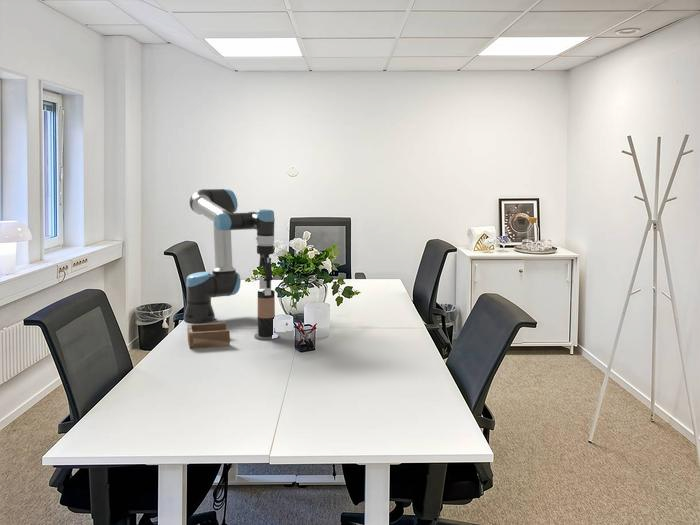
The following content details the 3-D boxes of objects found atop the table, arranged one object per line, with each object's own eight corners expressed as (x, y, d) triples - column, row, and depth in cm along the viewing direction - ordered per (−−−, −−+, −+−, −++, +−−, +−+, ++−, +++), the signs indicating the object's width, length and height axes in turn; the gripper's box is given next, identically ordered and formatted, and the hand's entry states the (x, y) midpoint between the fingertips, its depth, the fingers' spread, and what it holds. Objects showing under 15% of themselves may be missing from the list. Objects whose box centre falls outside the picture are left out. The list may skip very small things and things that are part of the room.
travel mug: (273, 337, 261) (273, 293, 258) (256, 337, 261) (255, 292, 258) (276, 333, 268) (275, 289, 266) (259, 332, 269) (259, 289, 266)
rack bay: (187, 339, 259) (187, 324, 258) (225, 336, 265) (225, 322, 264) (189, 348, 245) (189, 333, 244) (229, 345, 250) (229, 330, 250)
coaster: (252, 334, 268) (252, 332, 268) (276, 333, 272) (276, 331, 272) (256, 341, 258) (256, 339, 258) (281, 339, 261) (281, 337, 261)
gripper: (252, 241, 271) (252, 286, 274) (261, 249, 248) (261, 298, 251) (268, 240, 273) (268, 285, 277) (279, 248, 250) (278, 297, 253)
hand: (265, 291), depth 264 cm, fingers open, 13 cm apart
